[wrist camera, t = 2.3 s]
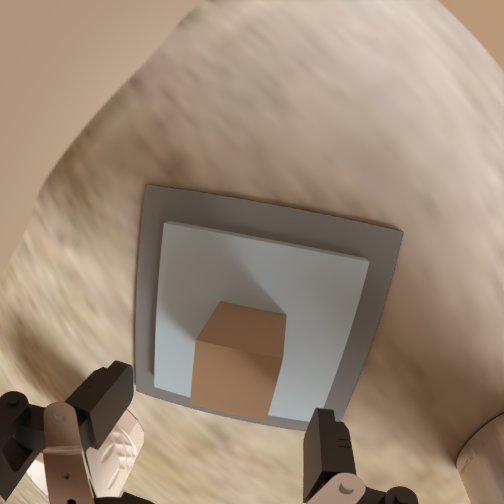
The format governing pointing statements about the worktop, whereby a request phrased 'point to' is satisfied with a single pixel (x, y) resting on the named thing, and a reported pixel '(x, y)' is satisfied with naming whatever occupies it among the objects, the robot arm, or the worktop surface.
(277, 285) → the lid
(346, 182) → the worktop surface
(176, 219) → the mat
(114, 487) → the white cup
